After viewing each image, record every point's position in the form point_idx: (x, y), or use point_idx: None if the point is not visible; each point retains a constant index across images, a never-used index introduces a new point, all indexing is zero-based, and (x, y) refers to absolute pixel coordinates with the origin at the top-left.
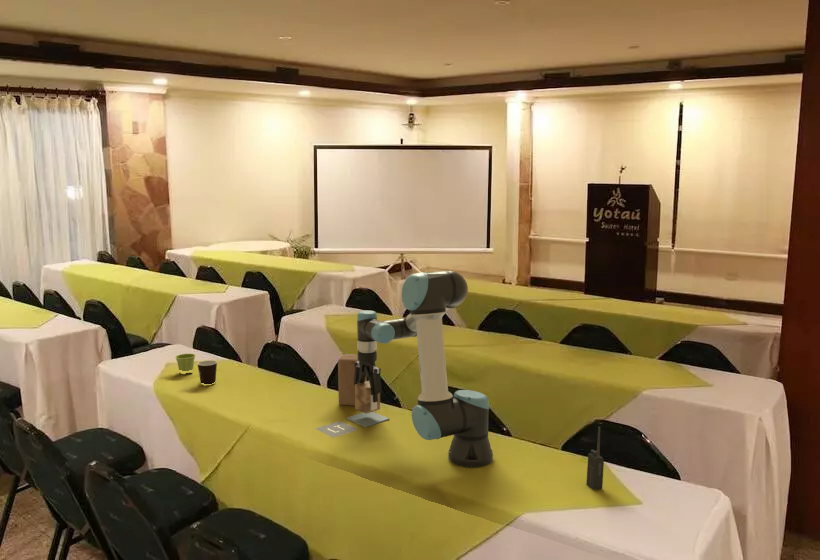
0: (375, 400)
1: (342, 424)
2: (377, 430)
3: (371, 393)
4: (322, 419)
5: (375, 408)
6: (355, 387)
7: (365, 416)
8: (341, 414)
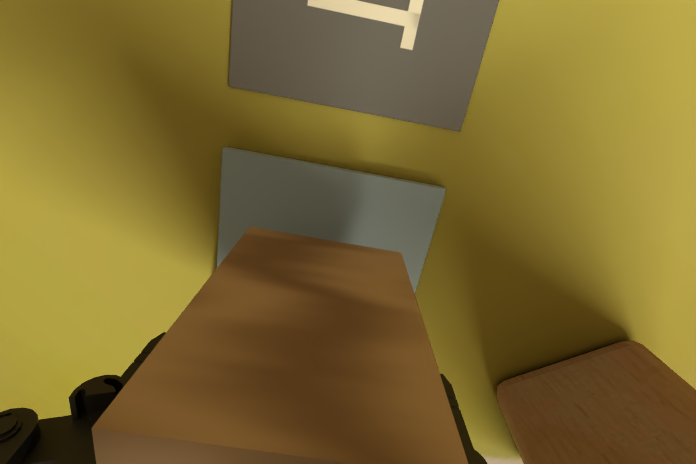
0: (145, 353)
1: (398, 82)
2: (127, 158)
3: (104, 397)
4: (605, 68)
5: None
6: (438, 423)
7: None
8: (527, 232)
